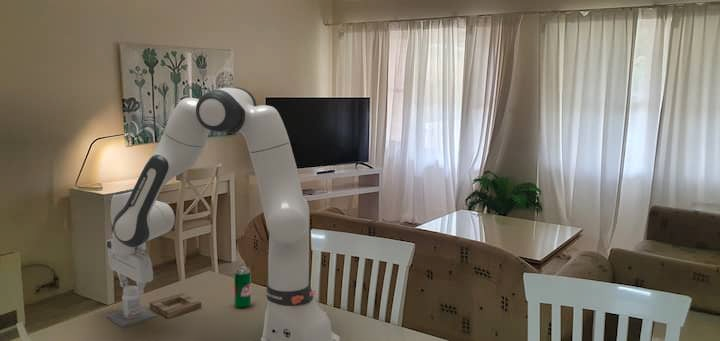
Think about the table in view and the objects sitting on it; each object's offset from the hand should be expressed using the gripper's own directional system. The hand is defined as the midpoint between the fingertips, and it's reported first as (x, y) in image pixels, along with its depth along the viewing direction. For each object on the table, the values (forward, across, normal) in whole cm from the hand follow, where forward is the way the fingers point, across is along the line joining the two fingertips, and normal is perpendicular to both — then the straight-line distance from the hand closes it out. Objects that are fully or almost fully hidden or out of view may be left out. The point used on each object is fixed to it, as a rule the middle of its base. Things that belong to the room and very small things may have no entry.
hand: (132, 290), depth 159 cm
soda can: (+9, -16, -28) cm, 33 cm away
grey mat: (+8, 0, 0) cm, 8 cm away
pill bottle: (+8, 0, 0) cm, 8 cm away
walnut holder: (+8, -3, -12) cm, 15 cm away
